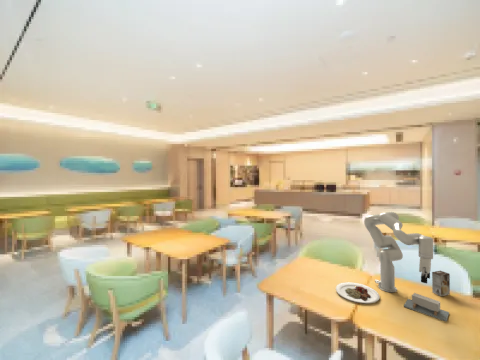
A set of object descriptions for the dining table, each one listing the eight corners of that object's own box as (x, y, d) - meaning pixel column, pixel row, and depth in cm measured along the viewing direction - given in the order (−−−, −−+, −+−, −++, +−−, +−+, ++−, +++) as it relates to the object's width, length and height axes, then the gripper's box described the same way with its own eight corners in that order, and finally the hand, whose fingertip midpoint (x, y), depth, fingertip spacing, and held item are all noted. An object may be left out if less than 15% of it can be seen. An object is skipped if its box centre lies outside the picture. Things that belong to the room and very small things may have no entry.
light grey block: (411, 302, 156) (411, 295, 156) (414, 299, 159) (414, 292, 159) (438, 312, 145) (438, 304, 145) (440, 309, 148) (440, 301, 148)
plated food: (334, 299, 168) (333, 294, 168) (337, 281, 194) (337, 277, 194) (381, 309, 154) (381, 304, 154) (378, 289, 181) (377, 285, 180)
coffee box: (440, 290, 176) (440, 270, 176) (450, 294, 170) (450, 273, 169) (431, 292, 174) (431, 271, 173) (441, 296, 167) (441, 275, 167)
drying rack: (403, 306, 156) (403, 302, 156) (407, 300, 164) (407, 296, 164) (446, 321, 140) (446, 317, 140) (448, 313, 148) (449, 309, 148)
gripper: (421, 250, 160) (421, 274, 160) (415, 257, 148) (415, 282, 149) (435, 253, 154) (434, 277, 155) (430, 260, 142) (430, 286, 143)
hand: (425, 280), depth 152 cm, fingers open, 9 cm apart
